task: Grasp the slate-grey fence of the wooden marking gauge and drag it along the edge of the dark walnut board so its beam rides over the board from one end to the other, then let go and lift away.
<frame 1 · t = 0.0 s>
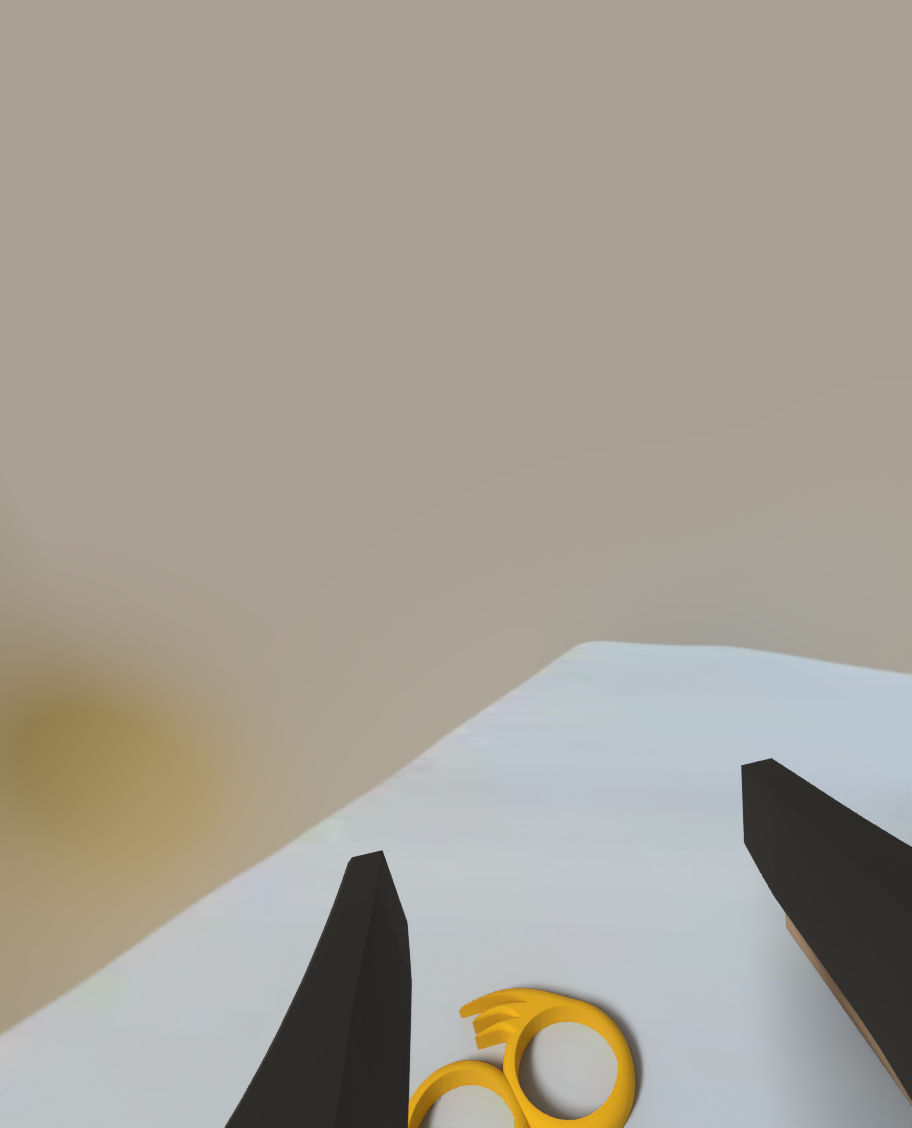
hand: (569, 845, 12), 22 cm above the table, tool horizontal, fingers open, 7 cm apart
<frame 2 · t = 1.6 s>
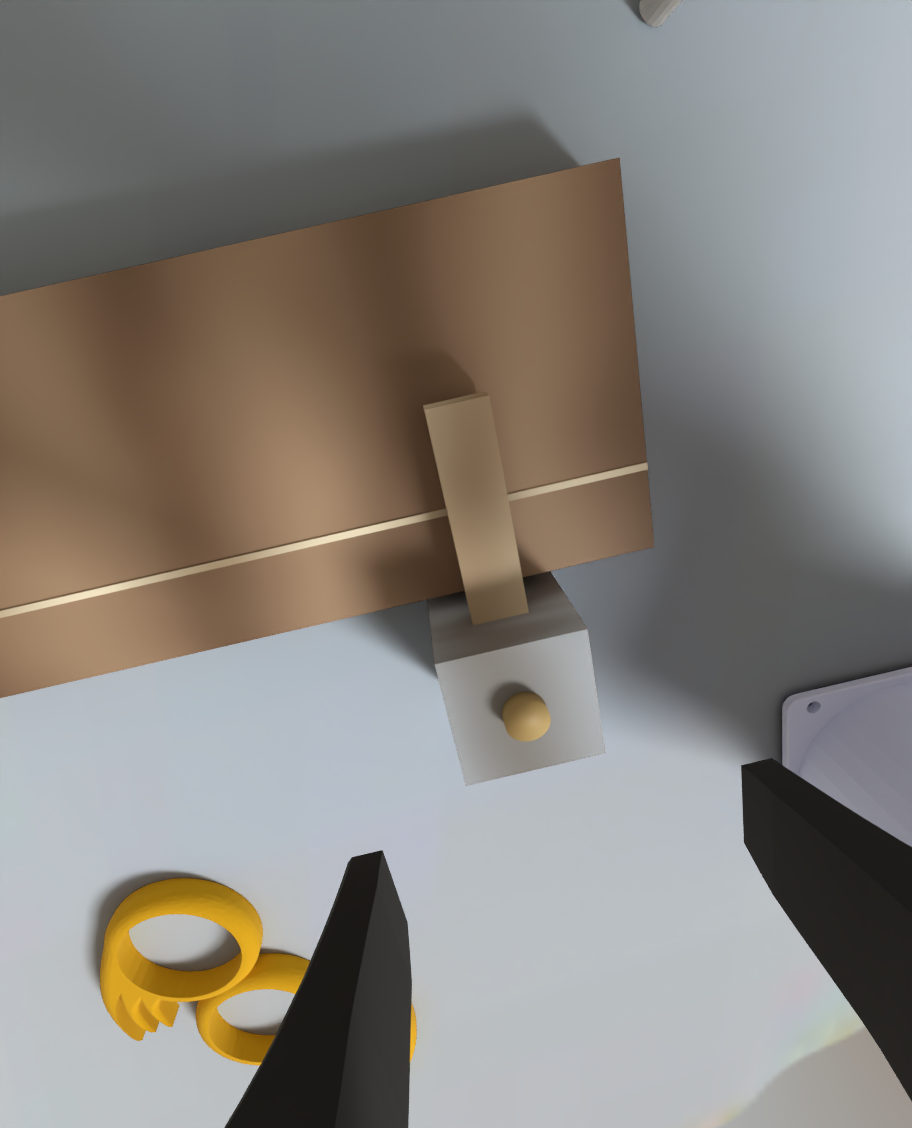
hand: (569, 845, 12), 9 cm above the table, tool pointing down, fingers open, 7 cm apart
board: (219, 460, 18), on the table
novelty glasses: (273, 986, 27), on the table
gauge: (495, 626, 20), on the table
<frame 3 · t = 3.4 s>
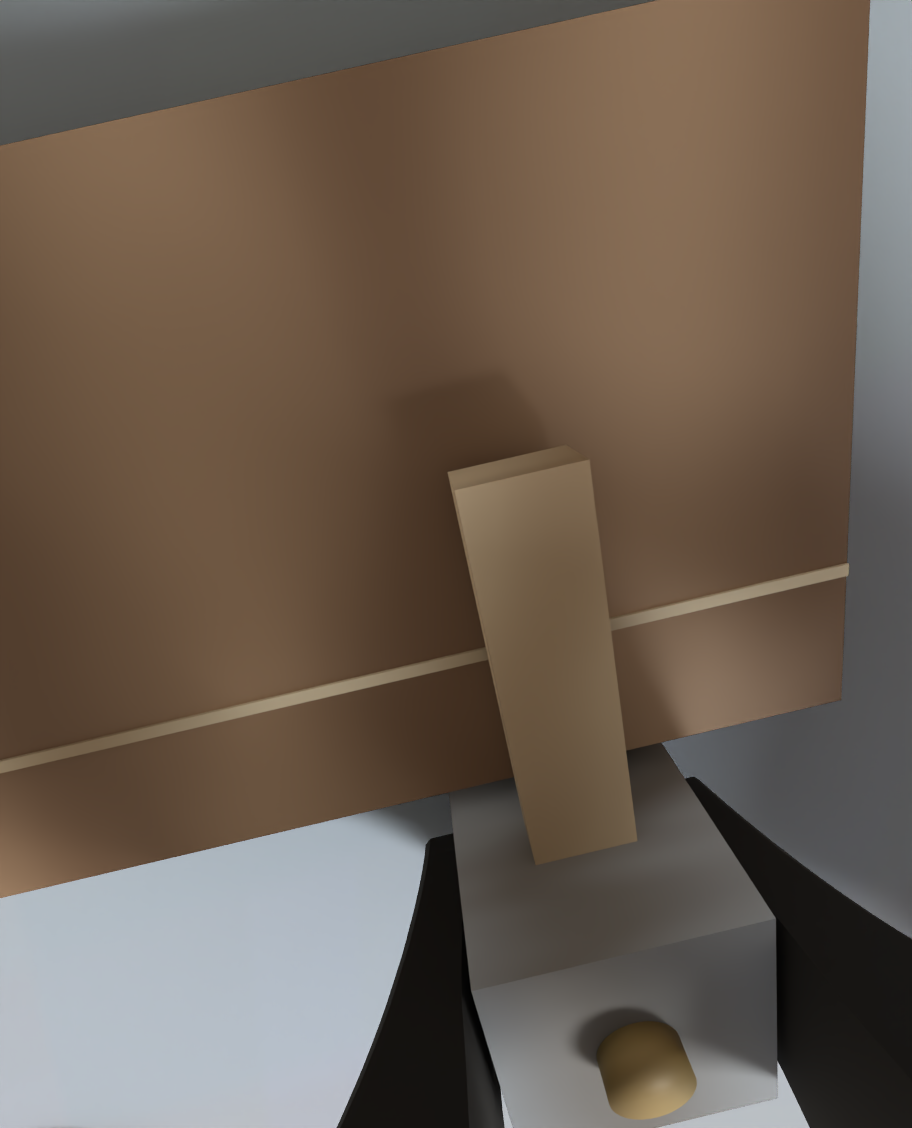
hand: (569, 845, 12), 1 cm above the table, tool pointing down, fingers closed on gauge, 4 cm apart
board: (87, 552, 10), on the table
gauge: (551, 793, 13), on the table, touching gripper
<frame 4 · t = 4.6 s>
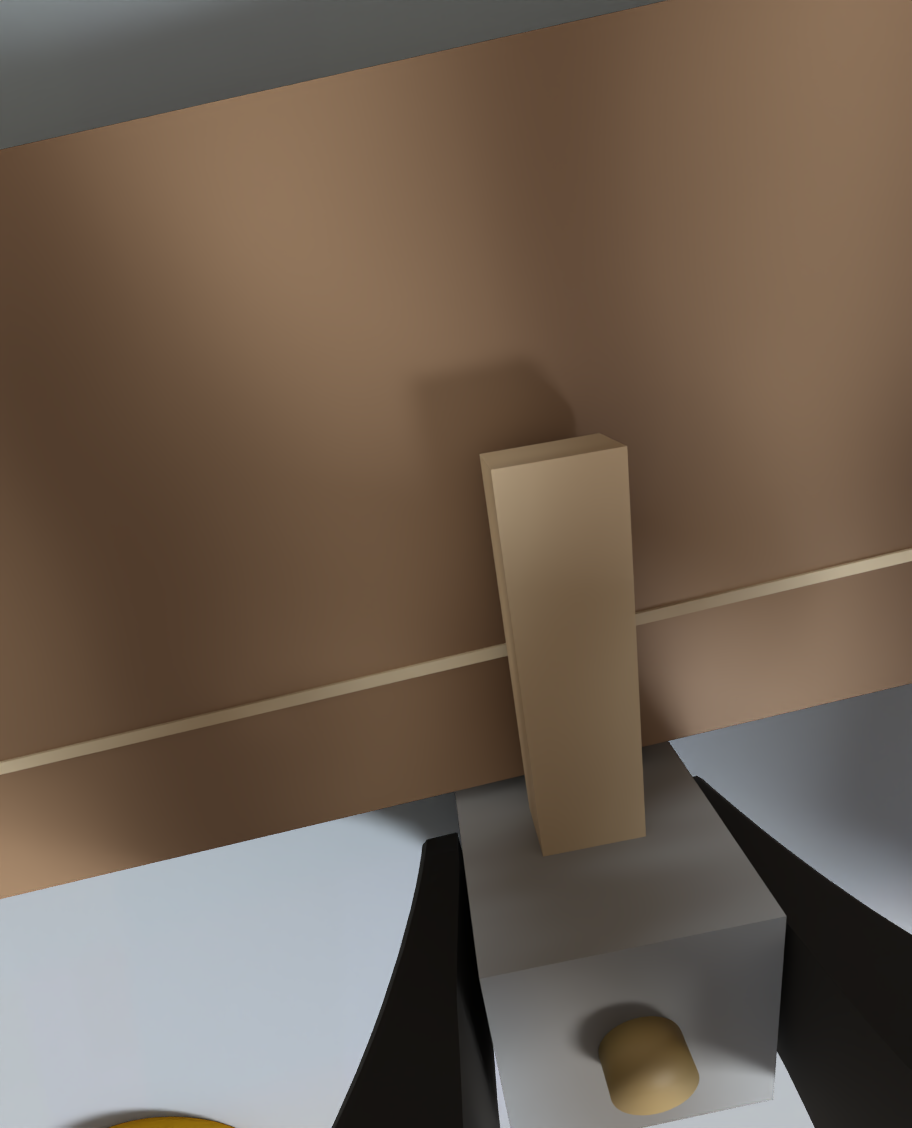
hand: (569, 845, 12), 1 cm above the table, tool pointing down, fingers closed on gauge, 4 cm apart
board: (209, 525, 10), on the table
gauge: (552, 789, 13), on the table, touching gripper
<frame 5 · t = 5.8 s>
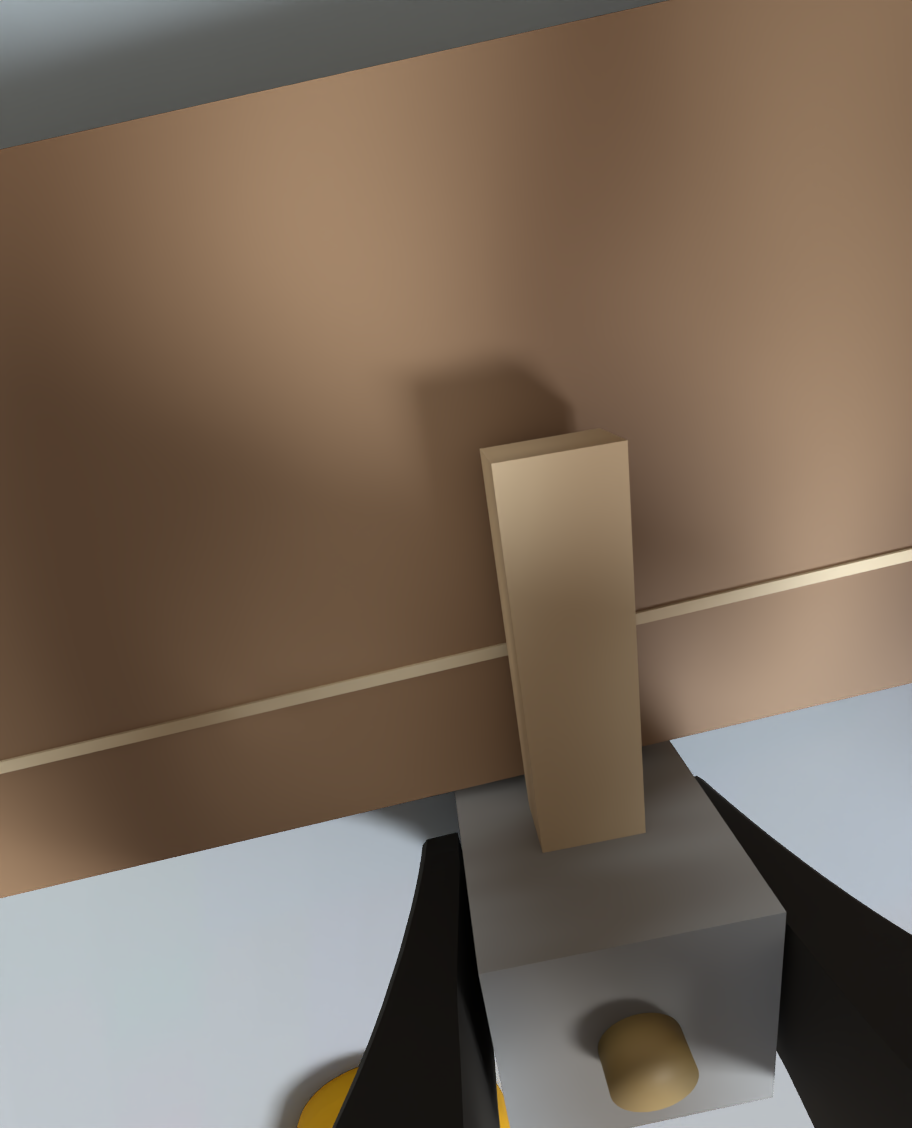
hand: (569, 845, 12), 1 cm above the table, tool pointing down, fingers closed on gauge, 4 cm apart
board: (595, 436, 10), on the table
gauge: (551, 787, 13), on the table, touching gripper
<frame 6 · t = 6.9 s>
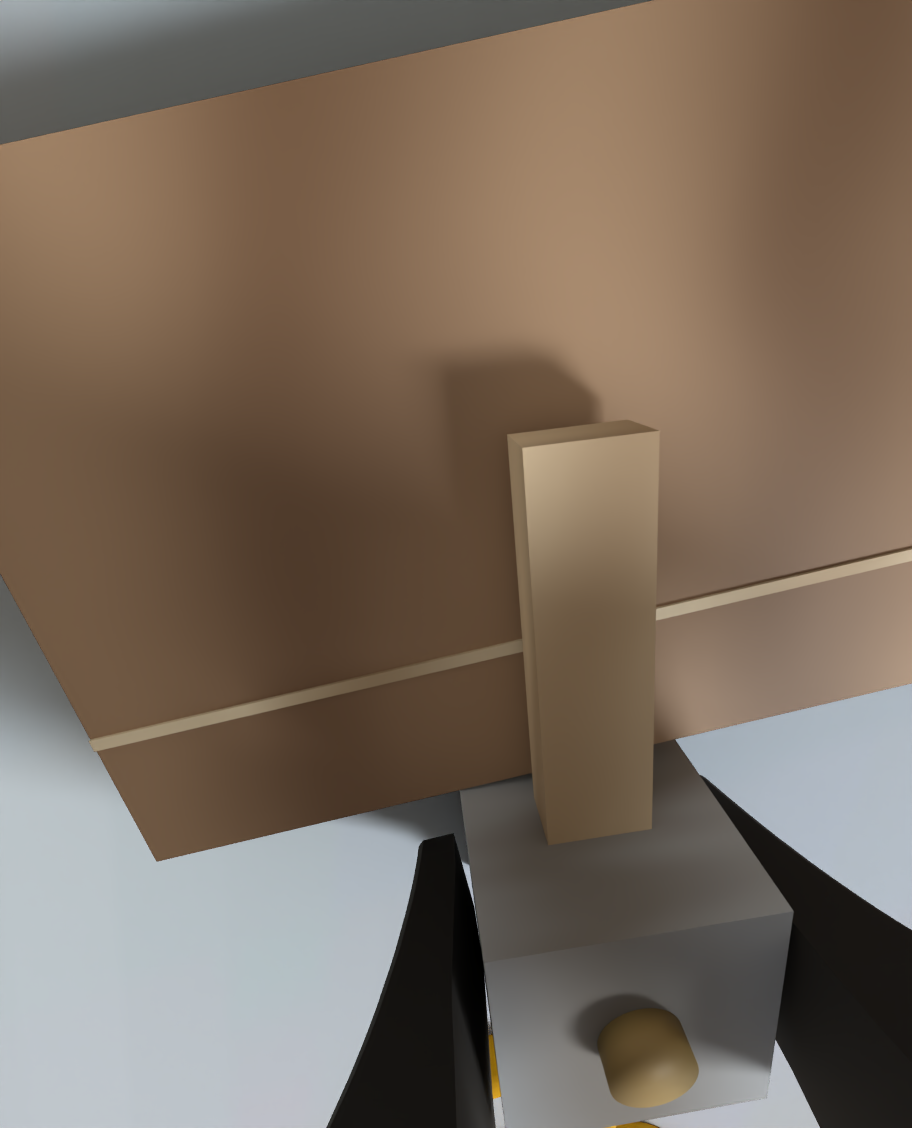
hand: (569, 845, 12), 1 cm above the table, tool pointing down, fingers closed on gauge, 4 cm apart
board: (768, 395, 10), on the table
gauge: (551, 783, 13), on the table, touching gripper
when the fingers open (1 cm above the table, at t = 8.0 s): gauge stays where it is, on the table.
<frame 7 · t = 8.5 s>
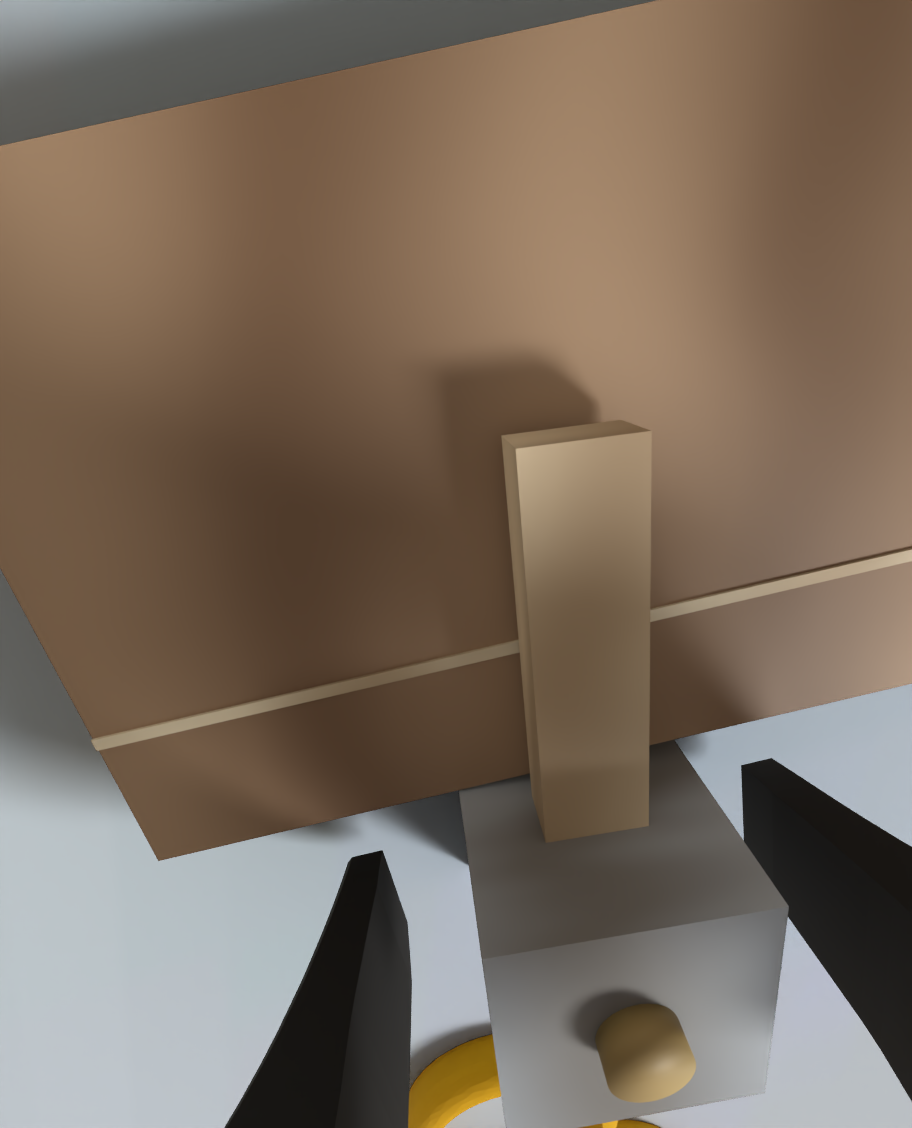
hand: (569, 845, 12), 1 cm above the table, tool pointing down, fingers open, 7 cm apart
board: (770, 395, 10), on the table
gauge: (550, 782, 13), on the table
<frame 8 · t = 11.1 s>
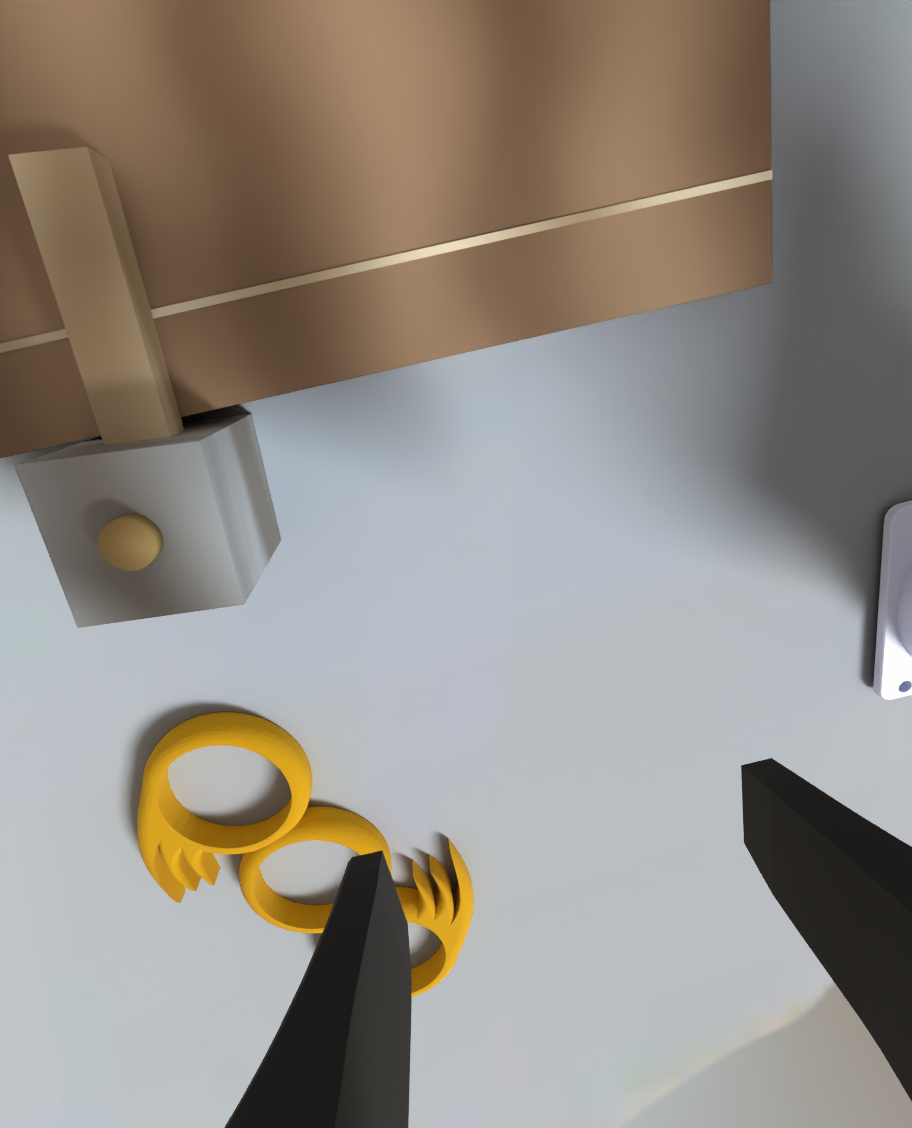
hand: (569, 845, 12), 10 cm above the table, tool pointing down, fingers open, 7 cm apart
board: (285, 184, 16), on the table
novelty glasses: (319, 851, 25), on the table
gauge: (202, 487, 18), on the table
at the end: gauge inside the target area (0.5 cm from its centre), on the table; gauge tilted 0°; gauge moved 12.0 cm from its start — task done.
